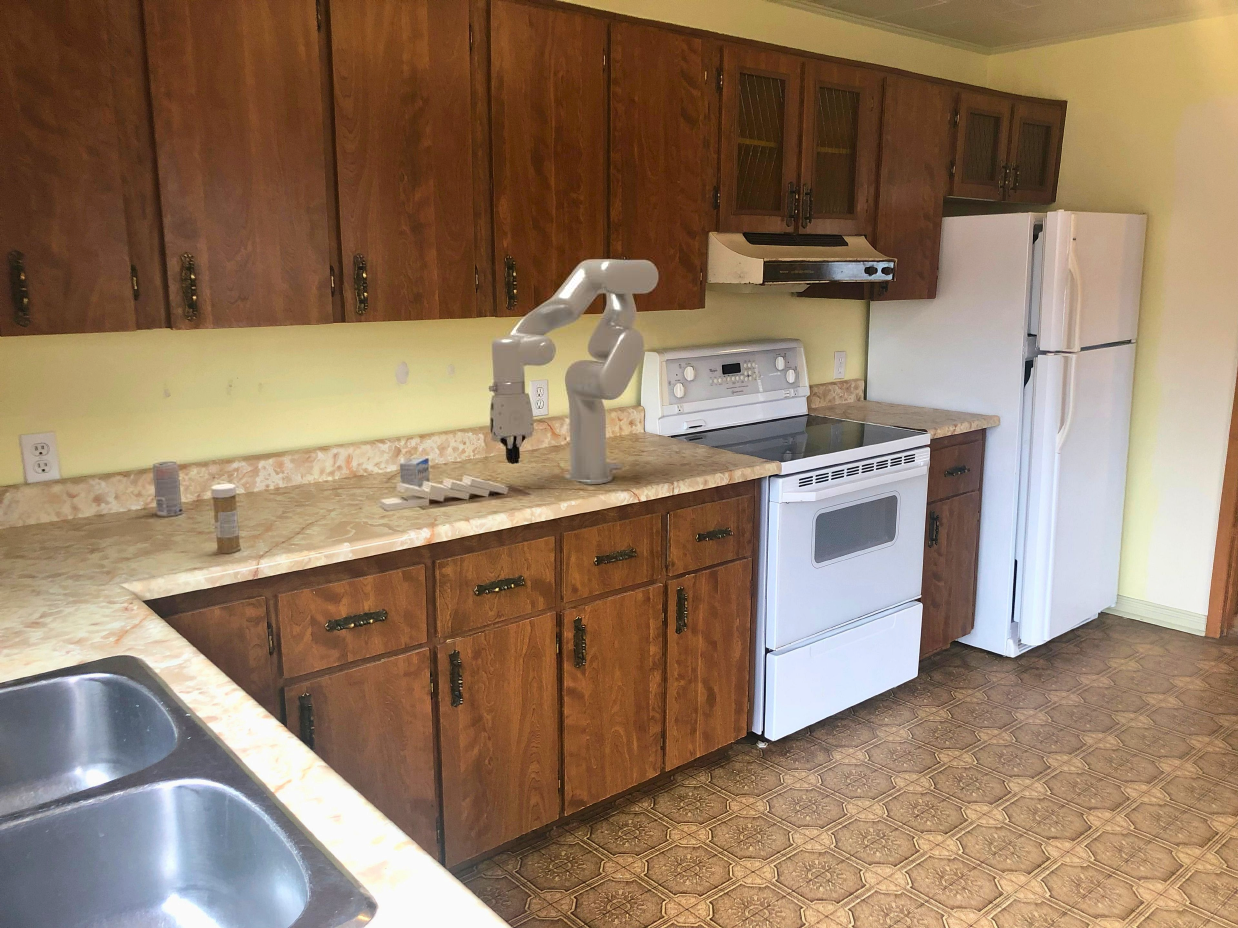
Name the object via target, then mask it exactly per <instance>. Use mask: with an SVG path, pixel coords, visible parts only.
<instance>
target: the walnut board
mask: <svg viewBox="0 0 1238 928" xmlns="http://www.w3.org/2000/svg"><path fill="white" fill-rule="evenodd" d="M504 486H505V487H507V488H508V491H507V494H504V493H500V492H495V491H491V490H490V491H489V494H488V497H486V496H482V495H478V494H473V493H470V494H469V498H468V500H467V499H463V498H458V497H453V496H447V495H445V496H444V500H443V501H439V500H434V499H429V505H426V506H419V507H417V508H419V510H422V511H424V510H425V511H427V510H432V509H433V510H434V509H440V508H449V507H453V506H460V505H467V504H468V505H469V504H475V503H481V502H489V501H496V500H503V499H509V498H510V499H511V498H518V497H523V496H524V497H525V496H530V495H533V494H532V493H531V492H529V491H526V490H524V489H521V488H519V487H517V486H515V485H512V484H511V485H510V484H509V485H504Z"/></svg>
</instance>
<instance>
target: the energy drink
mask: <svg viewBox="0 0 1238 928" xmlns="http://www.w3.org/2000/svg"><path fill="white" fill-rule="evenodd" d="M151 468H152V477H153V486H154V497H155V505H156V507H155V508H156V513H157V516H158V517H160V518H172V517H176V516H177V517H178V516H180V515H181V514H182V513H183V502H182V493H181V482H180V473H179V466H178V463H177V461H160V462H156V463H153V464H152V467H151Z"/></svg>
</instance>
